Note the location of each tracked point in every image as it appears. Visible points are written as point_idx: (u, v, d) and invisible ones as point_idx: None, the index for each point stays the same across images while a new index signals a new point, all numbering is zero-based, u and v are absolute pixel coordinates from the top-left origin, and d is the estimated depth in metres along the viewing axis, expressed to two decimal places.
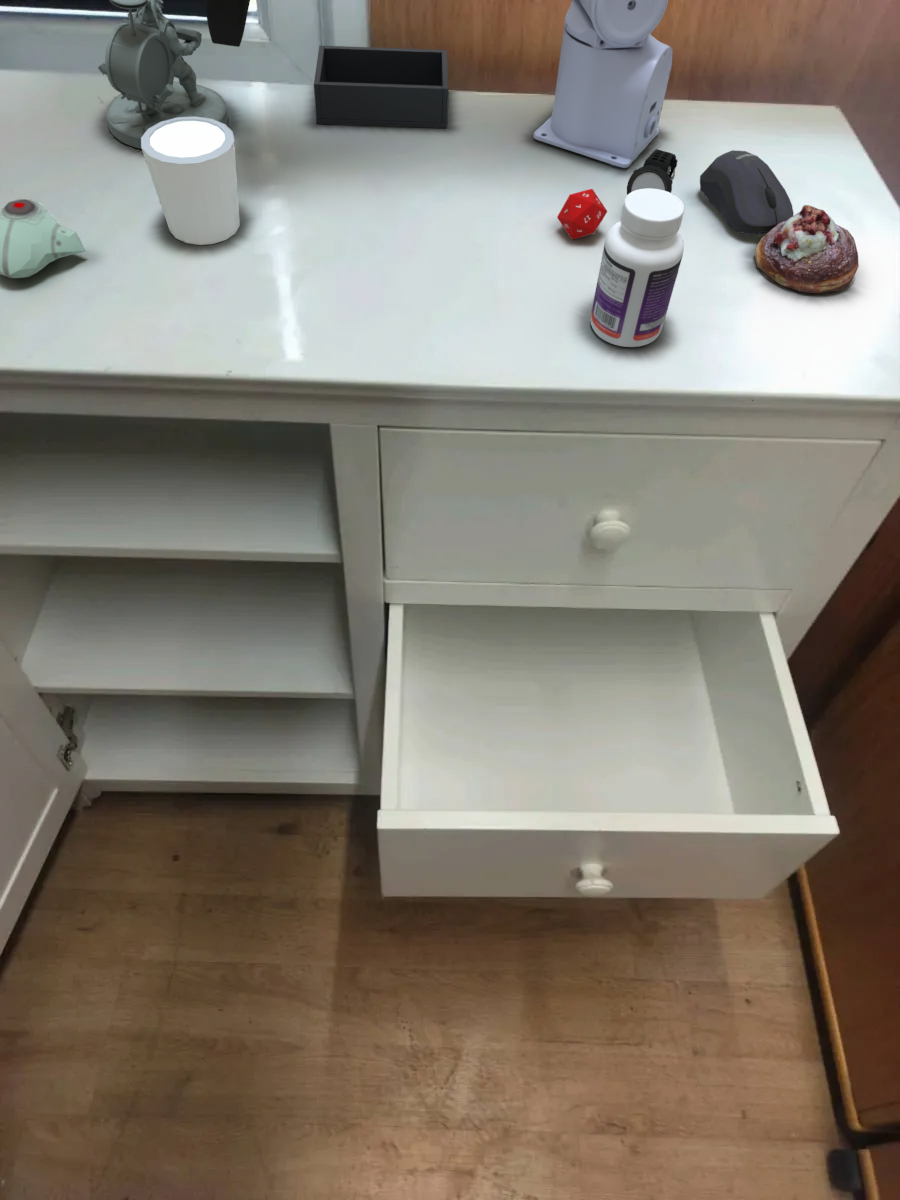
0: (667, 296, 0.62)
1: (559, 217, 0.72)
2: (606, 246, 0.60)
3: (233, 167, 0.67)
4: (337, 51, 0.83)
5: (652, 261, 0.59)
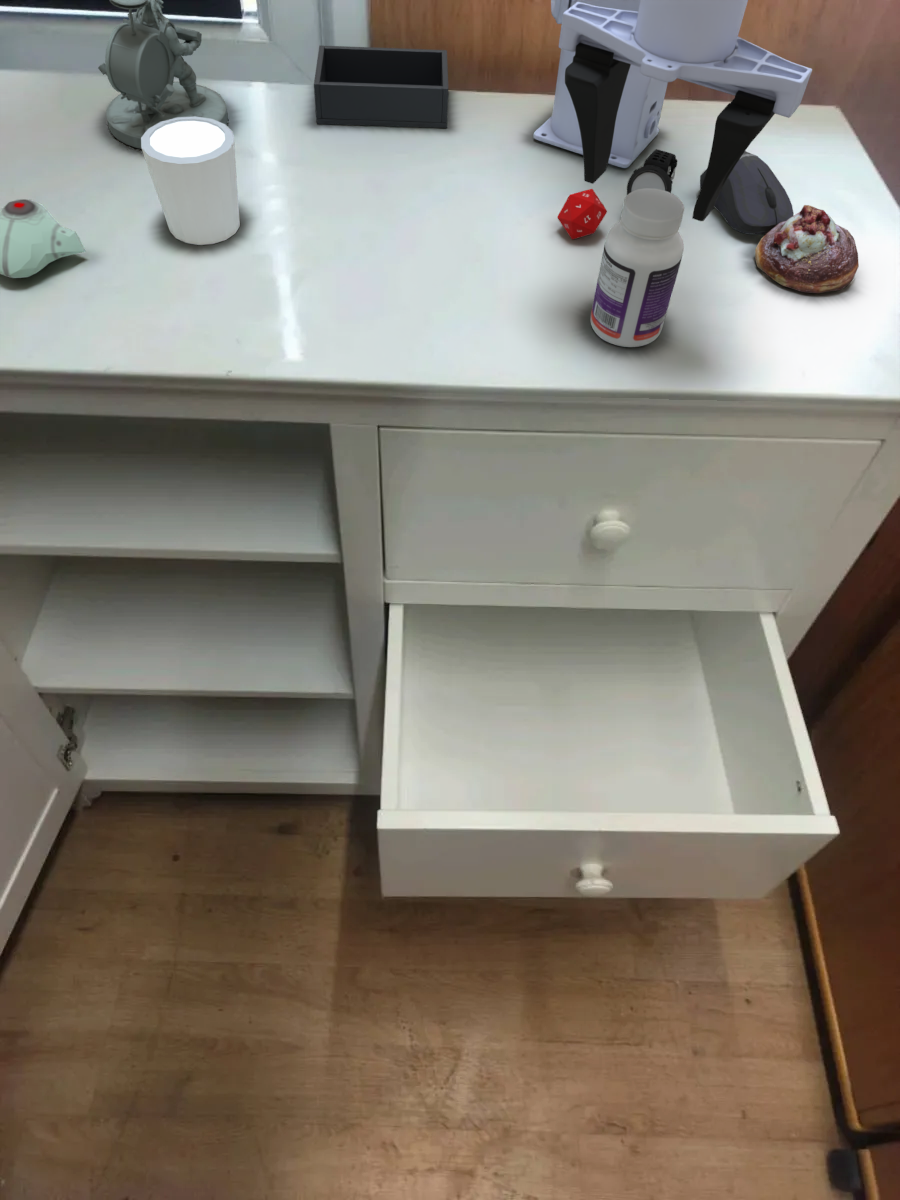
0: (667, 296, 0.62)
1: (559, 217, 0.72)
2: (606, 246, 0.60)
3: (233, 167, 0.67)
4: (337, 51, 0.83)
5: (652, 261, 0.59)
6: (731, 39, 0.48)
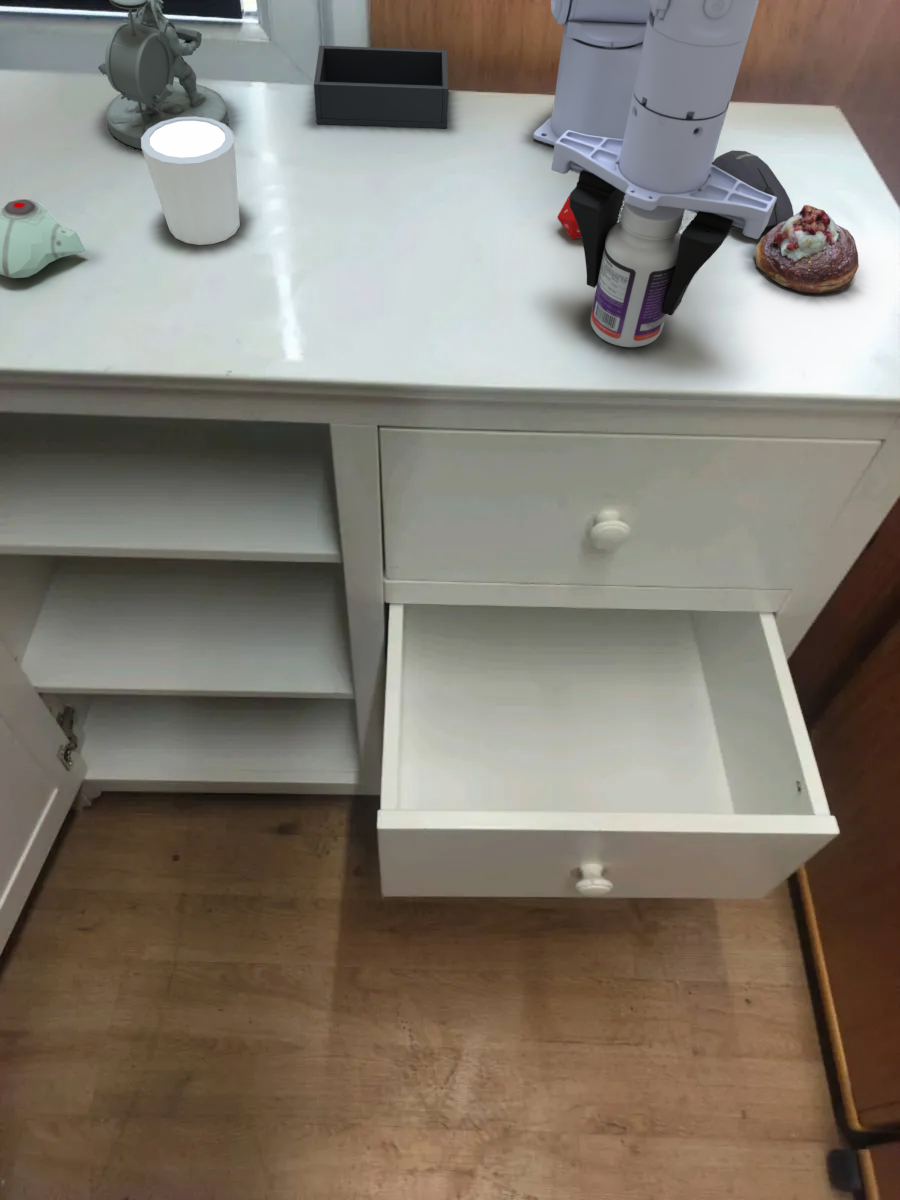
0: None
1: (559, 217, 0.72)
2: (606, 246, 0.60)
3: (233, 167, 0.67)
4: (337, 51, 0.83)
5: (653, 261, 0.59)
6: (704, 172, 0.55)
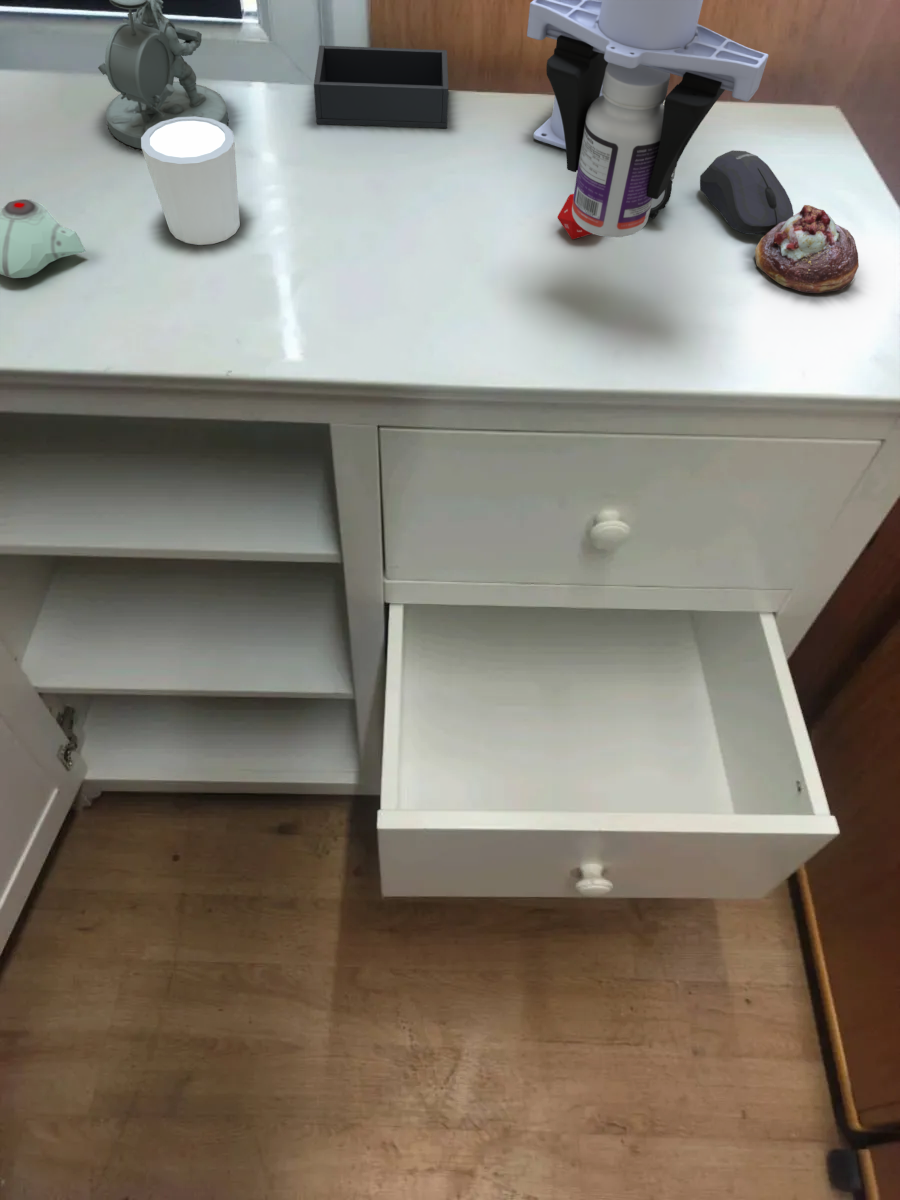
0: None
1: (559, 217, 0.72)
2: (587, 121, 0.56)
3: (233, 167, 0.67)
4: (337, 51, 0.83)
5: (636, 133, 0.55)
6: (691, 26, 0.51)
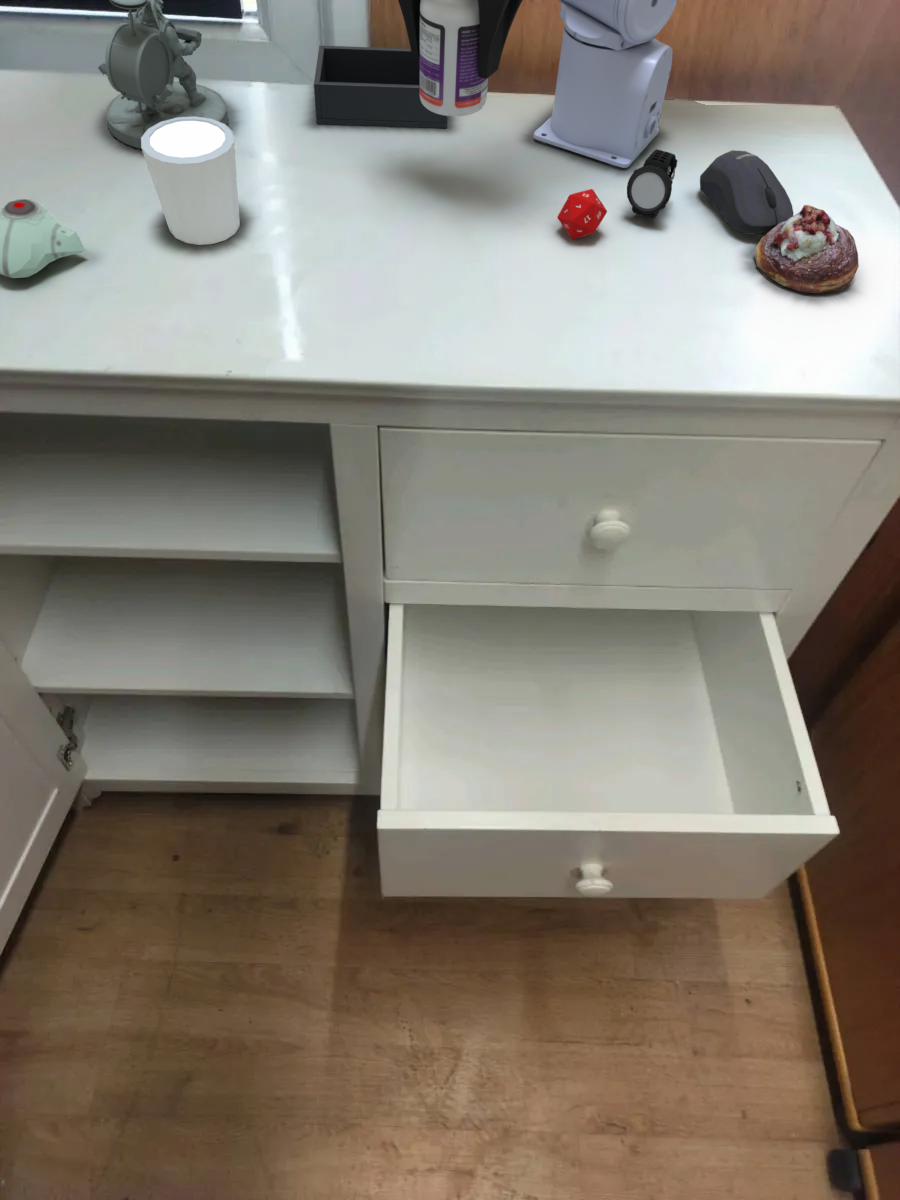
0: None
1: (559, 217, 0.72)
2: (420, 7, 0.65)
3: (233, 167, 0.67)
4: (337, 51, 0.83)
5: (459, 15, 0.63)
6: None
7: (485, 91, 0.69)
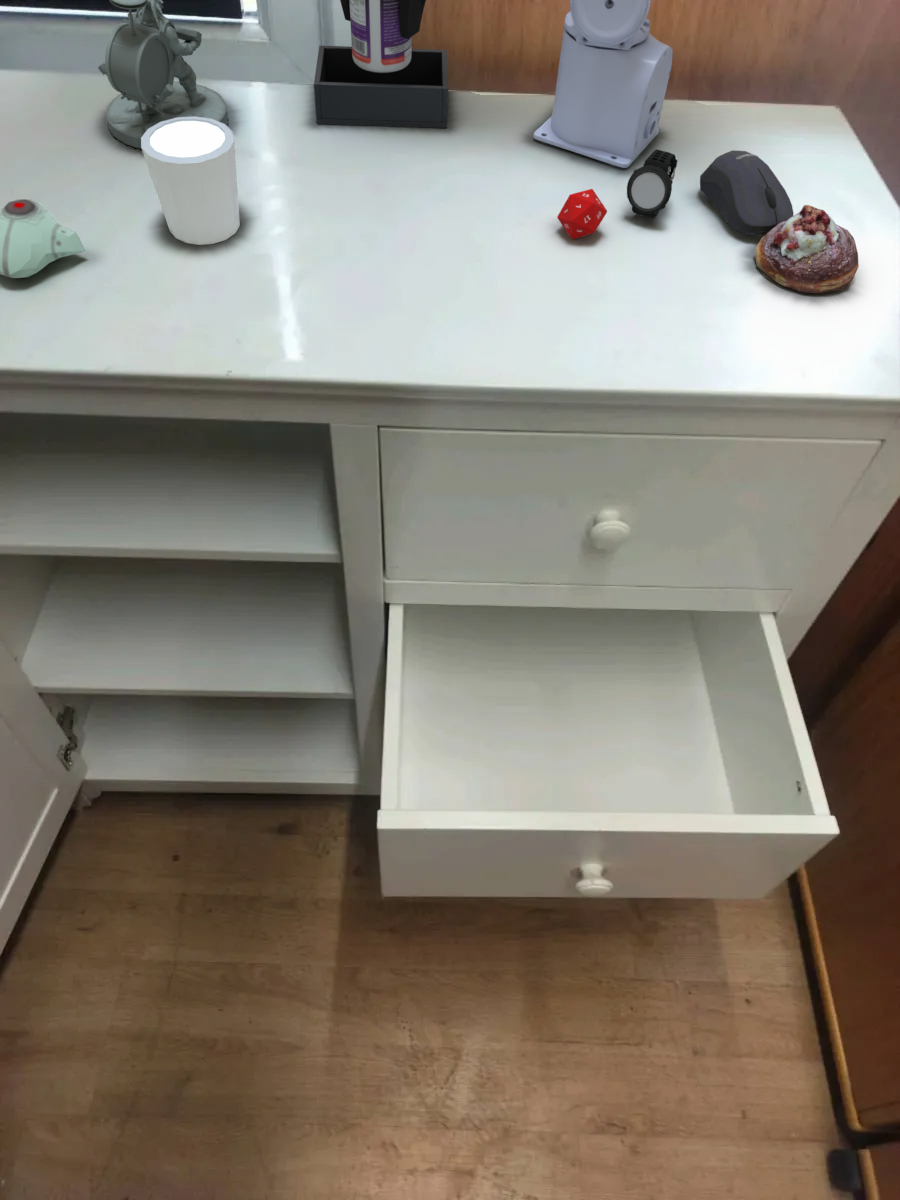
0: None
1: (559, 217, 0.72)
2: None
3: (233, 167, 0.67)
4: (337, 51, 0.83)
5: None
6: None
7: (409, 51, 0.79)
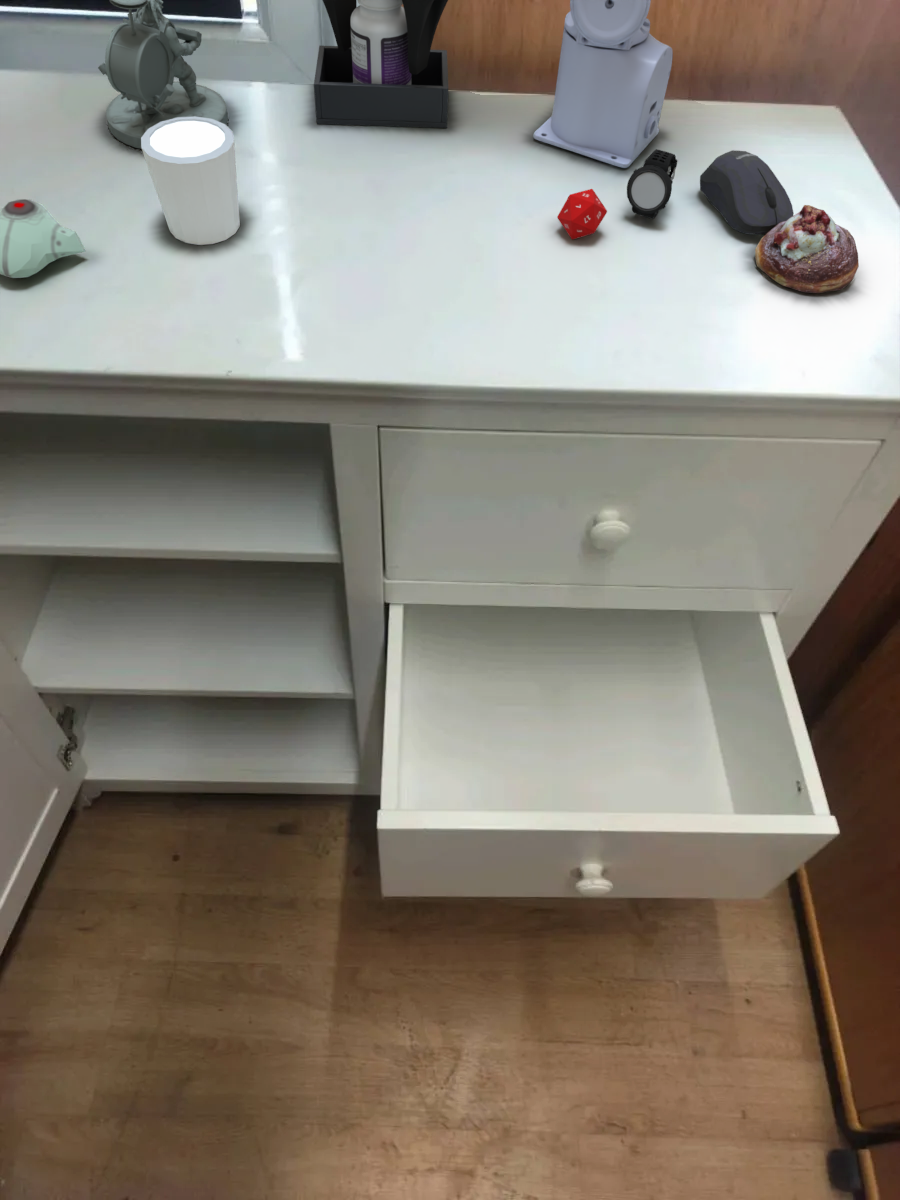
0: (402, 65, 0.79)
1: (559, 217, 0.72)
2: (350, 22, 0.78)
3: (233, 167, 0.67)
4: (337, 51, 0.83)
5: (381, 28, 0.76)
6: None
7: None
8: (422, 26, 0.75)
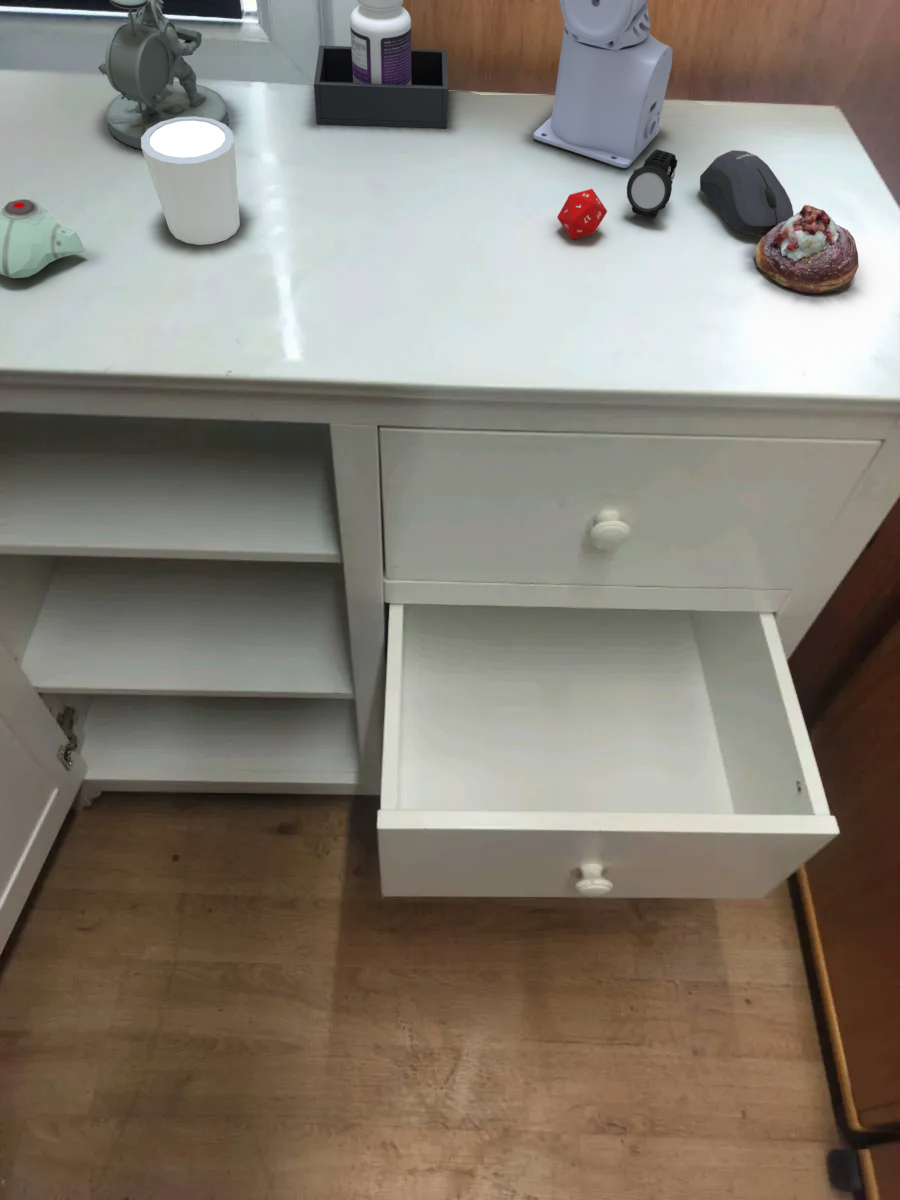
0: (402, 65, 0.79)
1: (559, 217, 0.72)
2: (350, 22, 0.78)
3: (233, 167, 0.67)
4: (337, 51, 0.83)
5: (381, 28, 0.76)
6: None
7: None
8: None
